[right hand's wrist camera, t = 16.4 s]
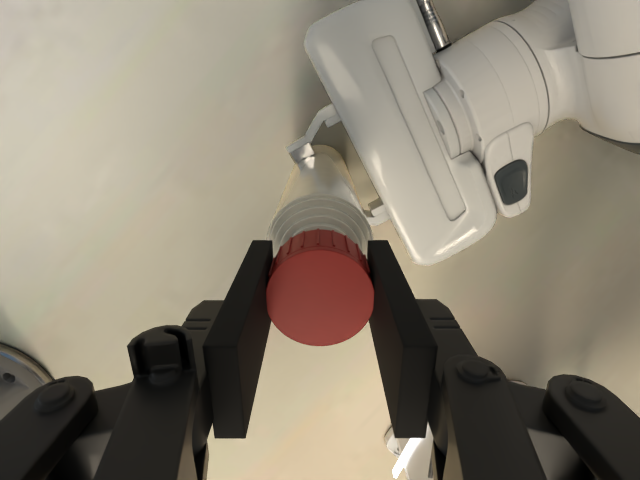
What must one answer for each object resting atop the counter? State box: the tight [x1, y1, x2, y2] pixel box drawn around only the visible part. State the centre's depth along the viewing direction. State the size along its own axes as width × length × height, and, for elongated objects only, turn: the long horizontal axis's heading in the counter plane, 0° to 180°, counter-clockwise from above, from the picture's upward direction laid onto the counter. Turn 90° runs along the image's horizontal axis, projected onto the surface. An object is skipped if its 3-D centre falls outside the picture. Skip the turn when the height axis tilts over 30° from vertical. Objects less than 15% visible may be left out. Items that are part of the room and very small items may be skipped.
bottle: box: [267, 144, 373, 258], centre depth 24 cm, size 5×5×24 cm
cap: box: [266, 228, 374, 346], centre depth 14 cm, size 4×4×2 cm
